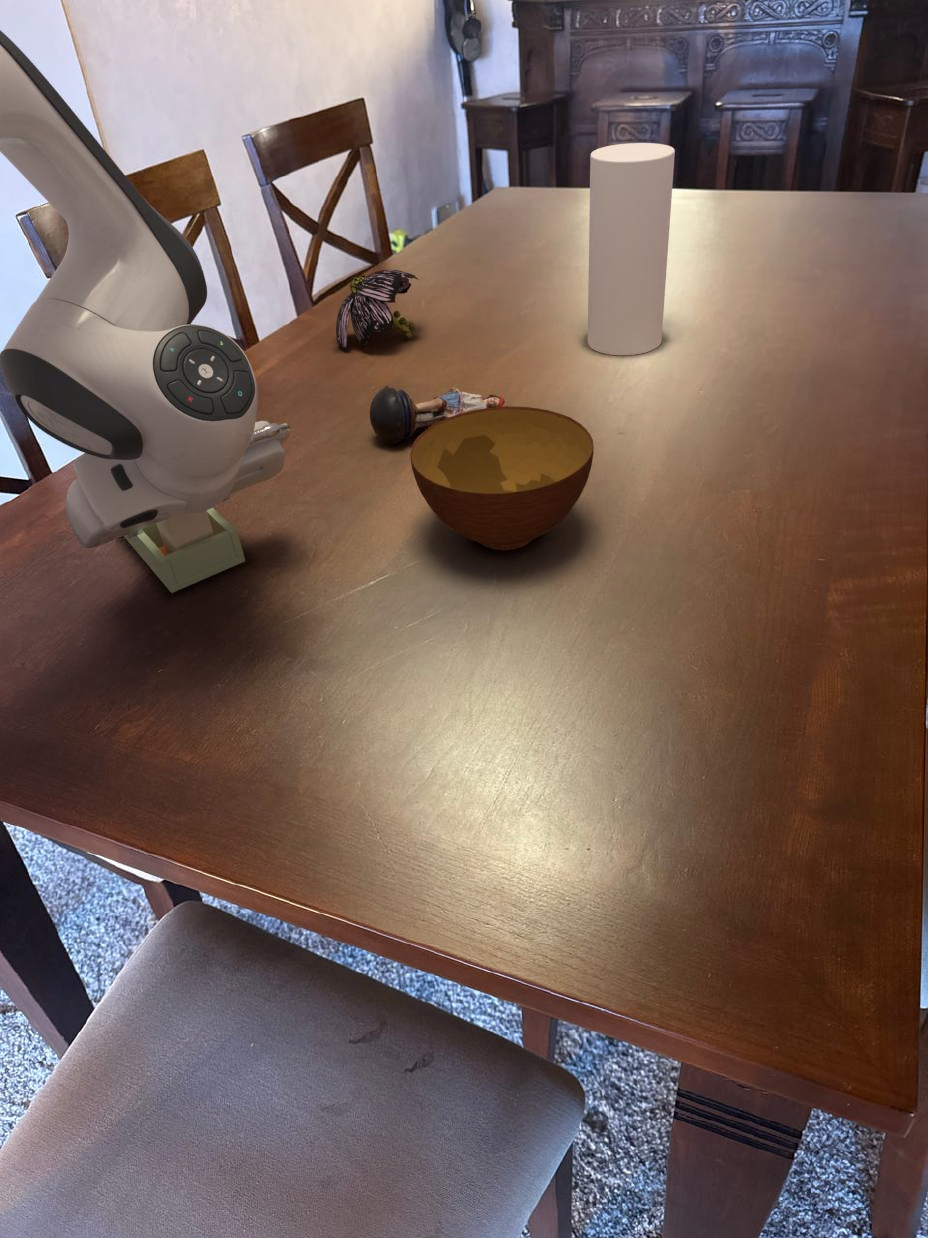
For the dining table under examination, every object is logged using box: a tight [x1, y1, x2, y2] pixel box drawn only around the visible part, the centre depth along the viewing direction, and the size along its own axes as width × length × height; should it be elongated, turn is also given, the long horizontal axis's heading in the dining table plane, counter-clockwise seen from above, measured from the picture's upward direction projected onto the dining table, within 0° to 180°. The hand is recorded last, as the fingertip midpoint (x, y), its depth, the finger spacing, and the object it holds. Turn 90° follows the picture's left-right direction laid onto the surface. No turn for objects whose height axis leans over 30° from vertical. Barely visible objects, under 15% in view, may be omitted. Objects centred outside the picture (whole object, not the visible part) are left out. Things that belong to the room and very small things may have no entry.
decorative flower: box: [335, 269, 420, 353], centre depth 131 cm, size 14×12×15 cm
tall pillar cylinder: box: [587, 142, 676, 356], centre depth 119 cm, size 11×11×25 cm
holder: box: [123, 507, 246, 594], centre depth 91 cm, size 8×15×4 cm, turn 37°
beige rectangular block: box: [156, 510, 214, 554], centre depth 86 cm, size 4×5×9 cm
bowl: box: [410, 405, 595, 551], centre depth 86 cm, size 18×18×10 cm
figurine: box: [369, 385, 506, 446], centre depth 107 cm, size 8×7×18 cm
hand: (175, 511), depth 87 cm, fingers open, 8 cm apart
